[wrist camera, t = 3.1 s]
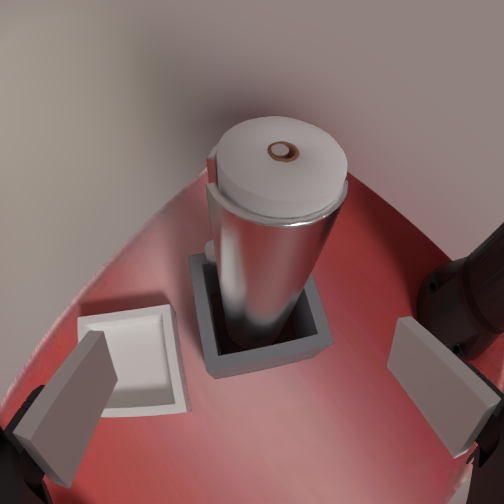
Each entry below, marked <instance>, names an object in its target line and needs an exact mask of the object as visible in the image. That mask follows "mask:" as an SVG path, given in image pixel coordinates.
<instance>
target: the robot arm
mask: <svg viewBox="0 0 504 504" xmlns="http://www.w3.org/2000/svg"><path fill="white" fill-rule="evenodd" d="M417 312H418V320H419V323H418V322H417V321H416V320H415V319H414V318H412V317H411V316H409V317H402V318H398V320H397V325H396V330H395V334H394V339H393V343H392V347H391V351H390V355H389V359H388V363H387V367H388V369H389V370H390V371H391V373H392V374H393V375H394V377H395V378H396V379H397V381H398V382H399V383H400V385H401V386H402V387H403V389H404V390H405V391H406V393H407V394H408V395H409V397H410V398H411V399H412V401H413V402H414V403H415V405H416V406H417V408H418V409H419V410H420V412H421V413H422V414H423V416H424V417H425V419H426V420H427V421H428V423H429V424H430V425H431V427H432V428H433V430H434V431H435V432H436V434H437V435H438V437H439V438H440V440H441V441H442V442H443V444H444V445H445V447H446V448H447V450H448V451H449V452H450V454H451V455H452V457H453V458H456V457H458V456H460V455H462V454H463V453H465V452H467V451H468V450H469V449H470V447H471V446H472V444H473V443H474V442H475V441H476V442H477V444H478V446H477V447H476V449H475V450H474V451H473V453H472V454H471V455H470V457H469V458H468V459H467V462H466V464H468V463H469V462H470V461H471V460H472V458H473V457H474V461H473V462H472V463H471V464H473V470H472V477H471V483H470V488H469V493H468V498H467V503H466V504H504V394H503V393H502V392H501V391H500V390H499V389H498V388H497V387H496V386H495V385H494V384H493V383H491V382H490V381H489V380H488V379H486V377H485V376H484V375H483V374H481V372H480V371H479V370H477V369H476V368H475V367H474V366H473V365H471V364H469V363H467V361H469V360H472V359H474V358H476V357H478V356H480V355H481V354H482V353H483V352H484V351H485V350H486V349H487V348H488V347H489V346H490V345H491V344H492V343H493V342H494V341H495V340H496V339H497V338H498V337H499V336H500V335H501V334H502V333H504V222H503V223H502V224H501V225H500V226H499V227H498V228H497V229H496V230H495V231H494V232H493V233H492V234H491V235H490V236H489V237H488V238H487V239H486V240H485V241H484V242H483V243H482V244H481V245H479V246H478V248H476V249H475V250H474V251H473V252H472V253H471V254H470V255H469V256H467V257H464V258H461V259H458V260H455V261H452V262H449V263H445V264H443V265H441V266H439V267H437V268H436V269H435V270H434V271H433V272H432V273H430V274H429V275H428V276H427V277H426V278H425V280H424V281H423V283H422V285H421V287H420V290H419V294H418V301H417ZM117 381H118V378H117V375H116V372H115V369H114V366H113V362H112V359H111V356H110V352H109V349H108V345H107V341H106V338H105V334H104V331H94V330H89V331H88V332H87V334H86V335H85V336H84V337H83V339H82V340H81V341H80V342H79V343H78V345H77V346H76V347H75V348H74V350H73V351H72V352H71V353H70V355H69V356H68V357H67V358H66V360H65V361H64V362H63V363H62V365H61V366H60V367H59V369H58V370H57V371H56V372H55V374H54V375H53V376H52V378H51V379H50V380H49V382H48V383H47V384H46V386H45V385H40V386H39V387H38V388H36V389H35V390H33V391H32V392H31V394H30V395H29V396H28V398H27V399H26V401H25V402H24V403H23V404H22V406H21V408H19V410H18V411H17V413H16V414H15V415H14V417H13V418H12V420H11V421H10V422H9V424H8V425H7V427H6V428H5V430H4V431H3V430H2V428H1V427H0V504H53V502H52V499H51V497H50V494H49V492H48V489H47V486H46V484H45V482H44V481H43V480H42V479H43V477H44V475H46V476H47V477H48V478H49V479H50V480H51V481H52V482H53V483H55V484H58V485H60V486H63V487H66V488H69V489H70V488H71V485H72V483H73V480H74V478H75V475H76V473H77V470H78V468H79V465H80V463H81V460H82V458H83V456H84V453H85V451H86V449H87V446H88V444H89V442H90V439H91V437H92V435H93V433H94V430H95V428H96V426H97V424H98V421H99V419H100V417H101V415H102V413H103V411H104V408H105V406H106V404H107V402H108V400H109V398H110V396H111V394H112V392H113V390H114V388H115V385H116V383H117Z"/></svg>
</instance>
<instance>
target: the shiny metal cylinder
mask: <svg viewBox="0 0 504 504" xmlns="http://www.w3.org/2000/svg"><path fill="white" fill-rule="evenodd" d="M206 161H207V170H208V179H209V184H206V193H207V201H208V208H209V216H210V223H211V230H212V237H213V244H214V251H215V257H216V264H217V270H218V277H219V283H220V289H221V295H222V302H223V308H224V313H225V319H226V326H227V331H228V333H229V335H230V337H231V338H232V339H233V340H234V341H235V343H237V344H238V345H240V346H242V347H244V348H248V349H257V348H262V347H266V346H268V345H270V344H272V343H273V342H274V341H275V340H276V339H277V337H278V335H279V334H280V332H281V330H282V328H283V326H284V325H285V323H286V321H287V319H288V317H289V315H290V313H291V311H292V309H293V307H294V305H295V304H296V302H297V300H298V298H299V296H300V294H301V292H302V290H303V288H304V286H305V284H306V282H307V280H308V278H309V276H310V274H311V272H312V270H313V268H314V266H315V263H316V261H317V259H318V257H319V255H320V253H321V251H322V249H323V247H324V245H325V242H326V240H327V238H328V236H329V234H330V232H331V229H332V227H333V225H334V223H335V221H336V218H337V216H338V214H339V212H340V210H341V207H342V205H343V203H344V200H345V198H346V196H347V188H348V181H344V180H345V178H346V175H347V166H348V163H347V160H346V156H345V153H344V152H343V150H342V149H341V147H340V146H339V145H338V143H337V142H336V141H335V140H334V139H333V138H332V137H331V136H330V135H329V134H328V133H326V132H325V131H323V130H321V129H320V128H318V127H316V126H314V125H311V124H309V123H306V122H303V121H300V120H296V119H293V118H289V117H278V116H271V117H262V118H256V119H252V120H247V121H244V122H242V123H240V124H238V125H236V126H234V127H232V128H231V129H230V130H228V131H227V132H226V133H225V134H224V135H223V137H222V138H221V140H220V142H219V143H218V144H217V145H215V146H214V148H213V149H212V150H211V152H210V153H209V155H208V157H207V159H206Z"/></svg>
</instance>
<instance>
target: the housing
mask: <svg viewBox="0 0 504 504" xmlns="http://www.w3.org/2000/svg"><path fill="white" fill-rule="evenodd" d="M204 250H205V253H202V254H196V255H191V256H189V264H190V272H191V279H192V286H193V293H194V300H195V306H196V313H197V319H198V325H199V331H200V337H201V343H202V348H203V354H204V359H205V364H206V370H207V372H208V373H209V374H210V375H211V376H212V377H213V378H214V379H219V378H225V377H230V376H235V375H241V374H246V373H251V372H255V371H260V370H265V369H269V368H273V367H278V366H282V365H286V364H290V363H294V362H298V361H302V360H305V359H309V358H313V357H314V356H316V355H317V354H319V353H320V352H322V351H323V350H325V349H326V348H327V347H329V346H330V345H332V344H333V343H334V341H333V338H332V335H331V331H330V328H329V325H328V322H327V319H326V315H325V312H324V309H323V306H322V303H321V300H320V297H319V294H318V291H317V288H316V285H315V282H314V279H313V276H312V273H311V274H310V276H309V278H308V280H307V282H306V284H305V286H304V288H303V290H302V292H301V294H300V296H299V298H298V300H297V302H296V304H295V305H294V307H293V309H292V311H291V313H290V314H291V317H292V321H293V324H294V328H295V331H296V335H297V340H292V341H288V342H284V343H280V344H275V345H271V346H266V347H262V348H257V349H252V350H247V351H242V352H237V353H232V354H227V355H221V352H220V347H219V342H218V337H217V332H216V327H215V321H214V316H213V311H212V305H211V299H210V295H212V294H218V293H221V289H220V283H219V277H218V270H217V264H216V257H215V251H214V244H213V239H212V240H210V241H208V242H207V243H206V244H205V247H204Z"/></svg>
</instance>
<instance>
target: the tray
mask: <svg viewBox="0 0 504 504" xmlns="http://www.w3.org/2000/svg"><path fill="white" fill-rule="evenodd" d="M89 330H94V331H104V334H105V338H106V341H107V345H108V349H109V352H110V356H111V359H112V362H113V366H114V369H115V372H116V375H117V378H118V381H117V383H116V385H115V388H114V390H113V392H112V394H111V396H110V398H109V400H108V402H107V404H106V406H105V408H104V411H103V413H102V415H101V417H134V416H151V415H163V414H174V413H183V412H190V411H192V410H191V405H190V400H189V395H188V390H187V384H186V379H185V373H184V368H183V362H182V356H181V349H180V343H179V336H178V329H177V322H176V314H175V311H174V310H173V308H172V307H171V305H170V304H167V305H160V306H154V307H147V308H141V309H134V310H127V311H120V312H113V313H106V314H99V315H91V316H83V317H78V343H79V342H80V341H81V340H82V339H83V337H84V336H85V335H86V334H87V332H88V331H89Z"/></svg>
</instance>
